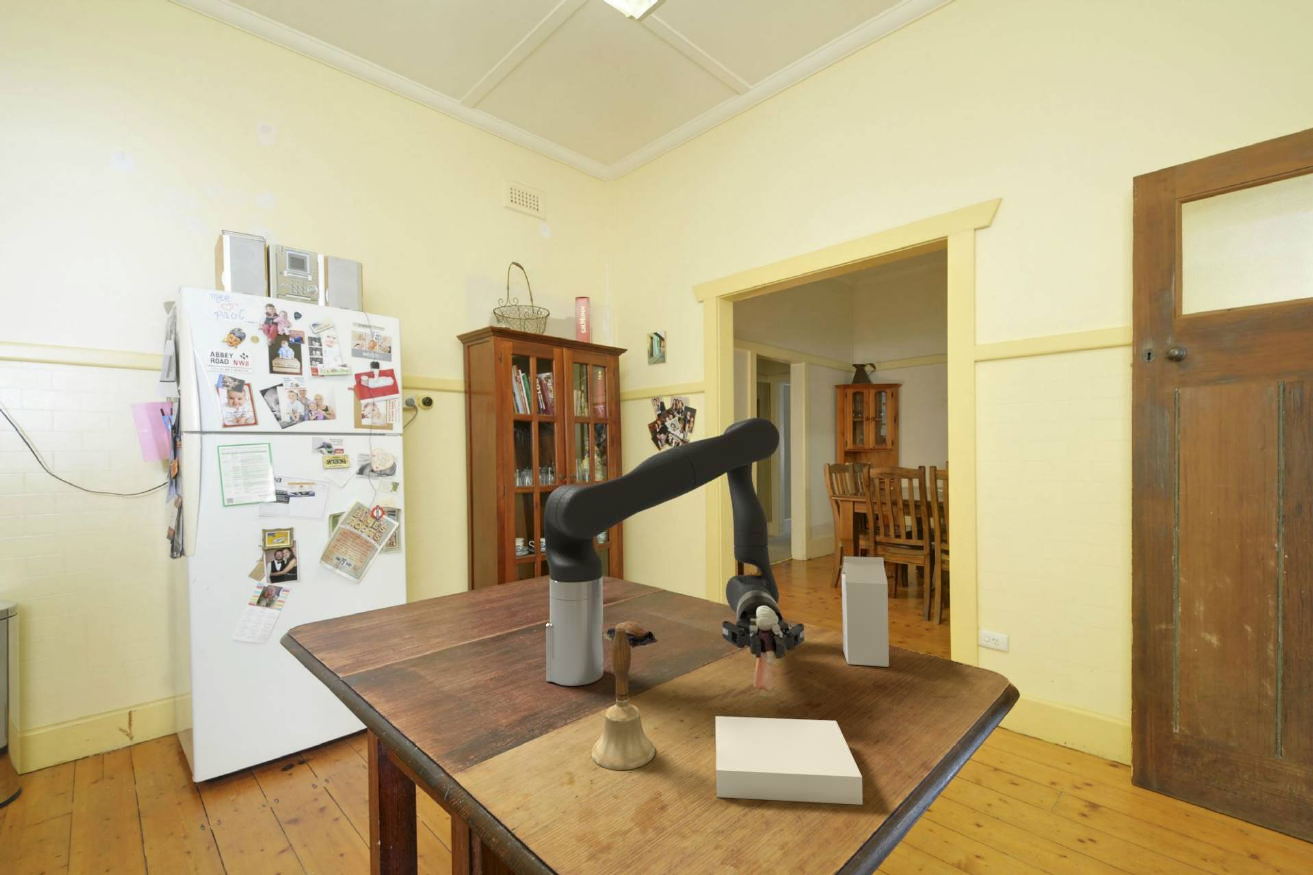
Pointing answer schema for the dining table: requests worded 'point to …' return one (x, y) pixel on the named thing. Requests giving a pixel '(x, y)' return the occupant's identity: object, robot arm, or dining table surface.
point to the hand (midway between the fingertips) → (768, 651)
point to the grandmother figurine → (765, 652)
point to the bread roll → (632, 633)
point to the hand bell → (622, 719)
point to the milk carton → (865, 611)
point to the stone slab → (785, 761)
